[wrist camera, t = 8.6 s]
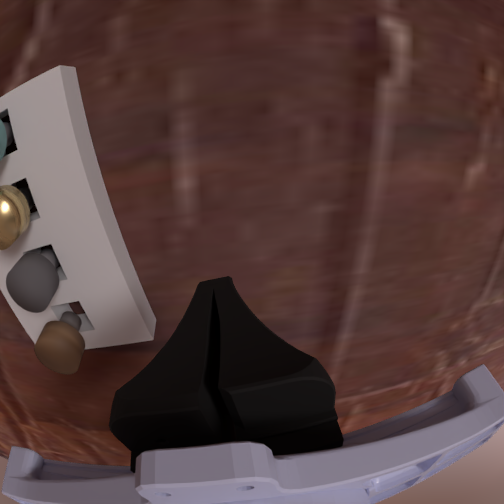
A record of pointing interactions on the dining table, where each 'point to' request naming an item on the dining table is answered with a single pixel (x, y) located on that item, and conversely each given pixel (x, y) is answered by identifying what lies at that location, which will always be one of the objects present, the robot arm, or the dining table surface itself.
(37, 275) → the dark grey rounded knob
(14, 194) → the brass dome cap
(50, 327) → the walnut key
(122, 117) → the dining table surface
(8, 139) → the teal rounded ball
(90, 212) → the console
